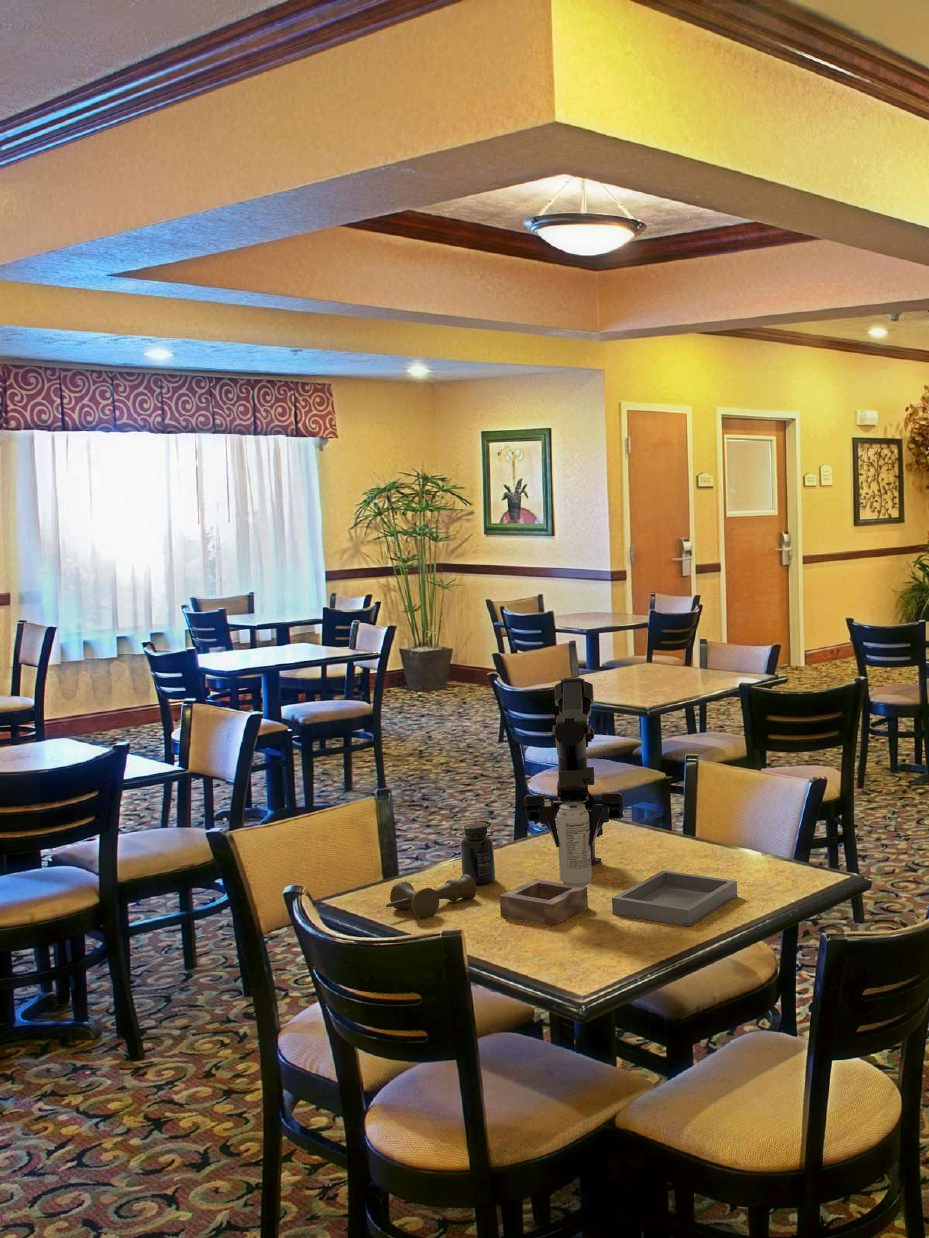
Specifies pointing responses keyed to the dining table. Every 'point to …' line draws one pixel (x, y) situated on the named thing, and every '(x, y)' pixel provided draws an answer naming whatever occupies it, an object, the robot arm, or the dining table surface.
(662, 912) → the parts tray
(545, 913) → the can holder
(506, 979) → the dining table surface
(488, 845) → the supplement bottle
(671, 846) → the dining table surface
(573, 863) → the energy drink can
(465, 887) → the kendama
